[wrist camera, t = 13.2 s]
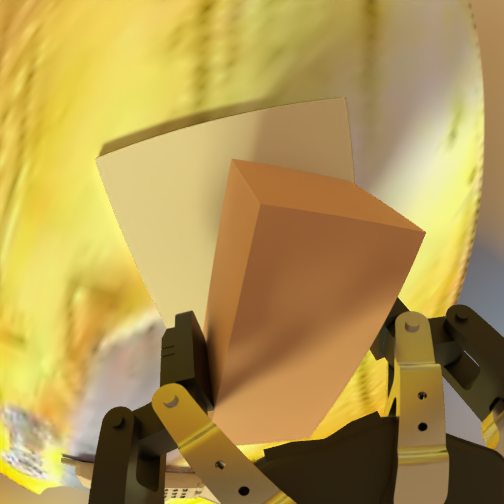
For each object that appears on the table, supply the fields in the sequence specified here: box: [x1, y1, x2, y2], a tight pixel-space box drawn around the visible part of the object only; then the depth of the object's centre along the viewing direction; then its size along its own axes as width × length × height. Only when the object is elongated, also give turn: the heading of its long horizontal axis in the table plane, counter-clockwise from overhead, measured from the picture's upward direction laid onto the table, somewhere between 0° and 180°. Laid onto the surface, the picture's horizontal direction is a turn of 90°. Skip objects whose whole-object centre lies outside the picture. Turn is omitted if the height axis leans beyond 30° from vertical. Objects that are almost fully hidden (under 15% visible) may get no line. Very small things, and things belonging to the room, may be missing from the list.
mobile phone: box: [61, 458, 221, 504], centre depth 26 cm, size 6×6×25 cm
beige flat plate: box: [95, 98, 355, 332], centre depth 15 cm, size 11×15×1 cm
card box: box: [203, 159, 426, 445], centre depth 12 cm, size 11×5×5 cm, turn 167°
